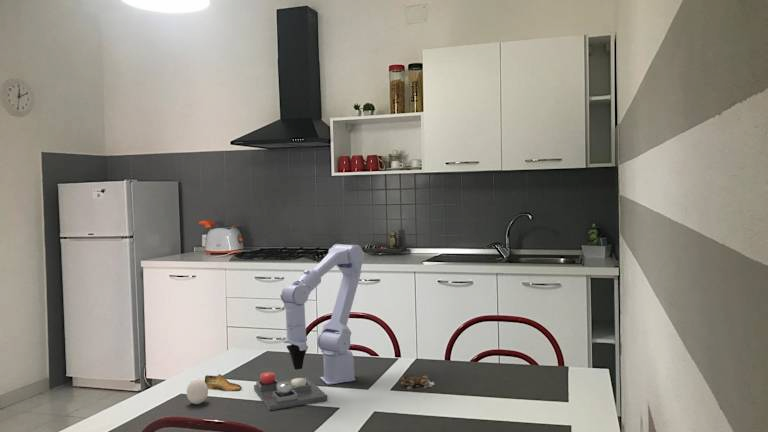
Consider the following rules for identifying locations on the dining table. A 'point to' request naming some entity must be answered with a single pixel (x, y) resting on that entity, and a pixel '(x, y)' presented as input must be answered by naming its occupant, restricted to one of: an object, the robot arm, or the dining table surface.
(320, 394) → the slate panel
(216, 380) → the shoe last
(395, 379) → the dining table surface
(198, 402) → the egg
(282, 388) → the steel button
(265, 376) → the red button
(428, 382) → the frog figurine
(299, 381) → the ivory button
